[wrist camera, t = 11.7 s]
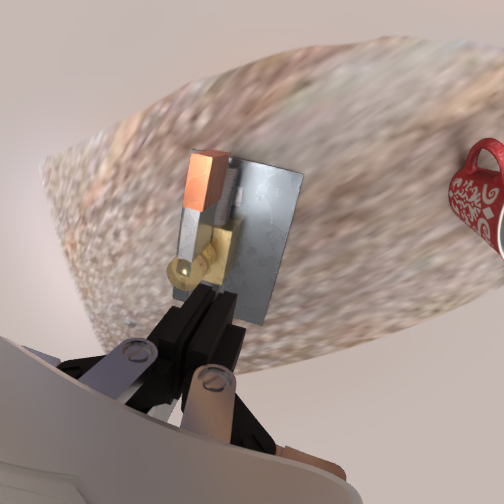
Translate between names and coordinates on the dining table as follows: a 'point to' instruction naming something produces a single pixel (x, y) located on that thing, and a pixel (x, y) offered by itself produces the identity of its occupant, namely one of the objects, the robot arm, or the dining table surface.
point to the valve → (249, 234)
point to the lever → (198, 218)
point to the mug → (481, 195)
